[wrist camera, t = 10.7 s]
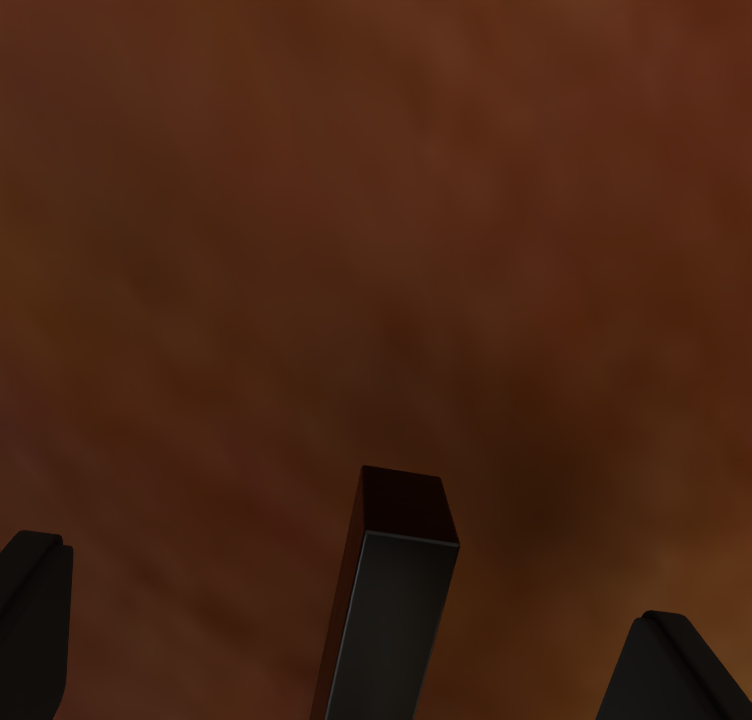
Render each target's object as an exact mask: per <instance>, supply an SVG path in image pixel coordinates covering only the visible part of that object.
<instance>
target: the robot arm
mask: <svg viewBox="0 0 752 720" xmlns="http://www.w3.org/2000/svg"><path fill="white" fill-rule="evenodd" d="M72 570H73V548H72V547H71V546H67V545H63V539H62V536H60V535H58V534H50V533H43V532H35V531H27V530H22V531H19V532H18V533H17V534H16V535H15V536H14V537H13V538H12V540H11V541H10V542H9V543H8V544H7V545H6V547H5V548H4V549H3V550H2V551H1V552H0V720H52V719H53V717H54V715H55V713H56V711H57V709H58V707H59V705H60V702H61V700H62V697H63V693H64V689H65V685H66V673H67V656H68V639H69V622H70V604H71V587H72ZM595 720H752V703H751V701H750V700H749V699H748V697H747V696H746V695H745V693H744V692H743V691H742V690H741V688H740V687H739V686H738V684H737V683H736V682H735V680H734V679H733V678H732V676H731V675H730V674H729V672H728V671H727V670H726V668H725V667H724V666H723V664H722V663H721V662H720V661H719V659H718V658H717V657H716V655H715V654H714V653H713V651H712V650H711V649H710V647H709V646H708V645H707V643H706V642H705V641H704V639H703V638H702V637H701V636H700V634H699V633H698V632H697V630H696V629H695V628H694V626H693V625H692V624H691V622H690V621H689V620H688V619H687V618H686V617H685V616H684V615H681V614H676V613H669V612H661V611H653V610H650V611H646V612H645V613H644V614H643V615H642V617H641V618H637V619H635V620H634V622H633V624H632V626H631V628H630V631H629V634H628V636H627V639H626V641H625V644H624V647H623V649H622V652H621V654H620V657H619V659H618V662H617V665H616V667H615V670H614V672H613V675H612V678H611V680H610V683H609V685H608V688H607V691H606V693H605V696H604V698H603V701H602V704H601V706H600V709H599V711H598V714H597V716H596V719H595Z"/></svg>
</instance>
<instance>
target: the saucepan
mask: <svg viewBox="0 0 752 720" xmlns="http://www.w3.org/2000/svg"><path fill="white" fill-rule="evenodd" d="M459 549H460V543H459V539H458V536H457V532H456V529H455V526H454V522H453V519H452V515H451V512H450V508H449V505H448V501H447V498H446V494H445V491H444V488H443V484H442V481H441V478H440V477H437V476H430V475H424V474H417V473H411V472H405V471H398V470H392V469H386V468H379V467H373V466H367V465H364V466H362V468H361V471H360V476H359V481H358V486H357V491H356V496H355V500H354V505H353V510H352V515H351V520H350V525H349V530H348V535H347V539H346V544H345V549H344V554H343V559H342V564H341V569H340V574H339V578H338V583H337V588H336V593H335V598H334V603H333V608H332V613H331V618H330V622H329V627H328V632H327V637H326V642H325V647H324V652H323V657H322V661H321V666H320V671H319V676H318V681H317V686H316V691H315V696H314V700H313V705H312V710H311V715H310V720H414V718H415V714H416V710H417V706H418V703H419V699H420V695H421V691H422V688H423V684H424V680H425V676H426V673H427V669H428V665H429V661H430V658H431V654H432V650H433V646H434V642H435V639H436V635H437V631H438V627H439V624H440V620H441V616H442V612H443V609H444V605H445V601H446V597H447V594H448V590H449V586H450V582H451V579H452V575H453V571H454V567H455V564H456V560H457V556H458V552H459Z"/></svg>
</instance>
